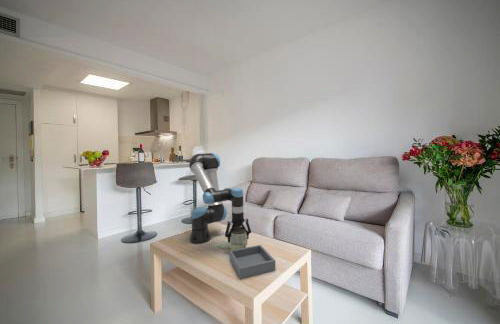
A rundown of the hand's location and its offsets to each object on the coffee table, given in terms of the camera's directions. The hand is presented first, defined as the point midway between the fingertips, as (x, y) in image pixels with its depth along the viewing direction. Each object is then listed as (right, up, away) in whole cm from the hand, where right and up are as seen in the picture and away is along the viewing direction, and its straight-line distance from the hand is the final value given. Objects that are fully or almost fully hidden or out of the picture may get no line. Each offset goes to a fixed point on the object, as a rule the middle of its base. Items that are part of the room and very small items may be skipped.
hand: (238, 245), depth 138 cm
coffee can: (0, -4, 0) cm, 4 cm away
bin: (+8, -5, -16) cm, 19 cm away
